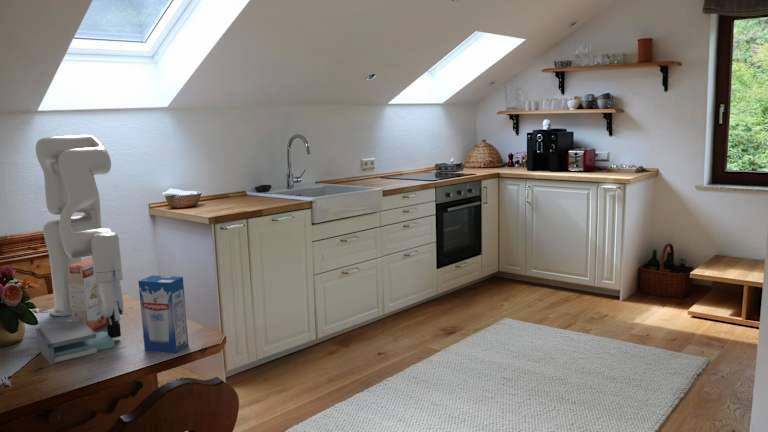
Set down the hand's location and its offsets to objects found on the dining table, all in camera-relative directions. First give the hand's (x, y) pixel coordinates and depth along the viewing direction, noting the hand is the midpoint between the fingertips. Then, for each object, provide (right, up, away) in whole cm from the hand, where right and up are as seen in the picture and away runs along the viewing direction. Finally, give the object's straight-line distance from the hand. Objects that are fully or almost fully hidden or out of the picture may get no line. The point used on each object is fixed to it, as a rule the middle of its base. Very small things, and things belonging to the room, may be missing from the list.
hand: (114, 336), depth 191 cm
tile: (-7, -2, -6) cm, 10 cm away
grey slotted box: (-10, -3, -7) cm, 13 cm away
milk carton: (+18, -2, -7) cm, 19 cm away
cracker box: (-12, +1, +14) cm, 18 cm away
